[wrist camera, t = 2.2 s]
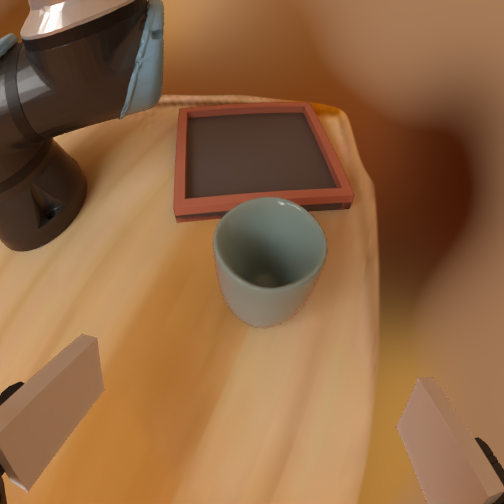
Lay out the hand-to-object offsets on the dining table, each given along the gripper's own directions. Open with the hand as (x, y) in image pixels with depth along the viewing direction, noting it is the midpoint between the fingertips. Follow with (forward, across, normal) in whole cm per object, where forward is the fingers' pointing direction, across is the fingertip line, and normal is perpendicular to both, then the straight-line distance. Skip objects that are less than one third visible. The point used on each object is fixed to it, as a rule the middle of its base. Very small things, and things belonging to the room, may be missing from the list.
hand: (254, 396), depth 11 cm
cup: (+18, 0, -3) cm, 19 cm away
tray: (+32, -3, +11) cm, 34 cm away
